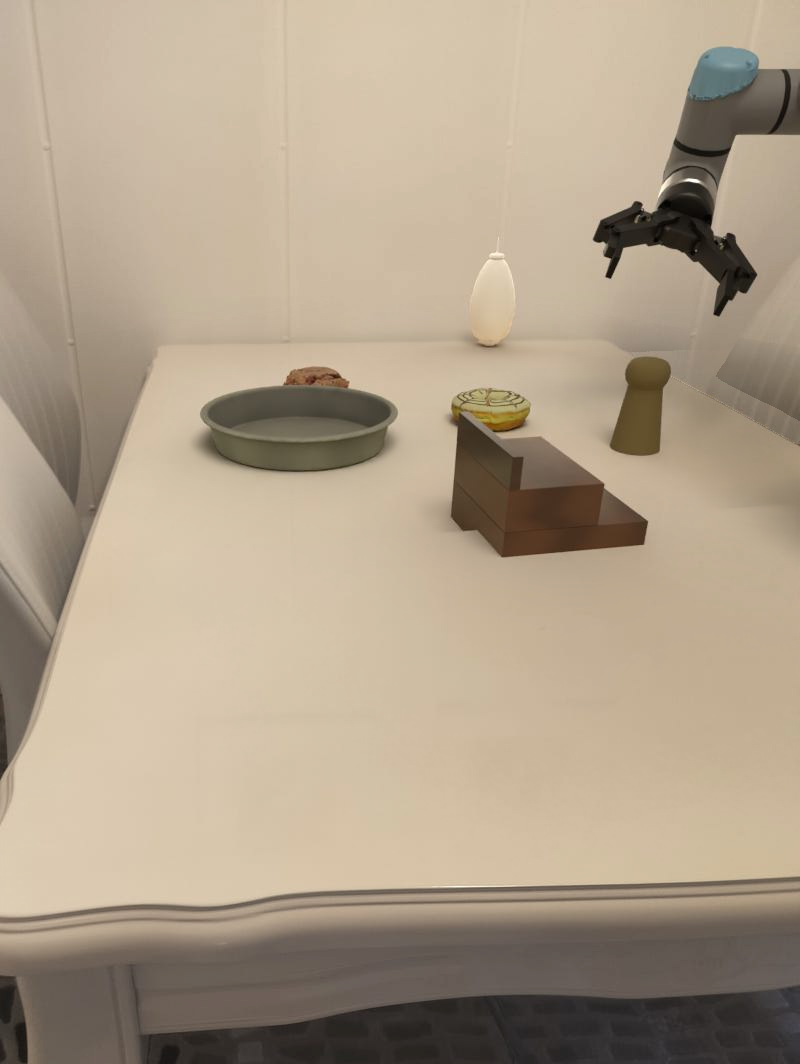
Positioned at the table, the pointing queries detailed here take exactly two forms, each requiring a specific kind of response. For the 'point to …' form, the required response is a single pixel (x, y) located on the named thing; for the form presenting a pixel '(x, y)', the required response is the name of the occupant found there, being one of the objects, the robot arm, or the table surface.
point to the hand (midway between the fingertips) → (666, 287)
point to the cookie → (316, 377)
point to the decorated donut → (492, 407)
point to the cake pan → (299, 426)
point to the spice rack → (534, 497)
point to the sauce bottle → (492, 301)
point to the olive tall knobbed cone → (641, 407)
